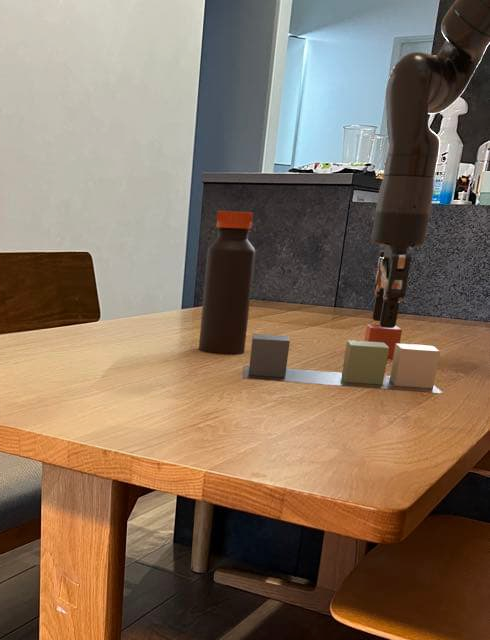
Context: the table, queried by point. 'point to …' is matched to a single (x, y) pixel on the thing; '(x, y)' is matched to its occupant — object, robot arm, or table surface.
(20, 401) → the table surface
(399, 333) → the terracotta block
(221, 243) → the bottle
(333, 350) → the table surface
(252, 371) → the slate block
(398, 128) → the robot arm
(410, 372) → the cream block
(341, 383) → the light grey flat plate
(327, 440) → the table surface
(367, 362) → the sage block
